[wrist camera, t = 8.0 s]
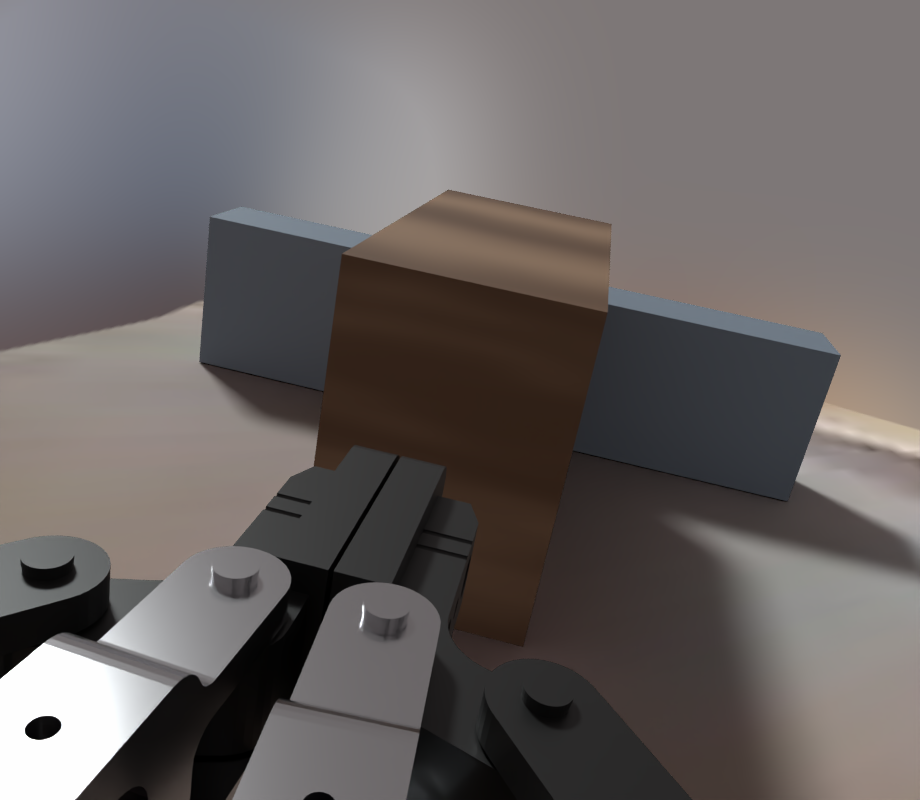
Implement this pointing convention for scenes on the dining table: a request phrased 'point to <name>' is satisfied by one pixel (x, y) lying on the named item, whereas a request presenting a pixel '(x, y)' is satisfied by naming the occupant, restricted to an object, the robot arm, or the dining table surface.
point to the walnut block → (473, 372)
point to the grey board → (614, 375)
